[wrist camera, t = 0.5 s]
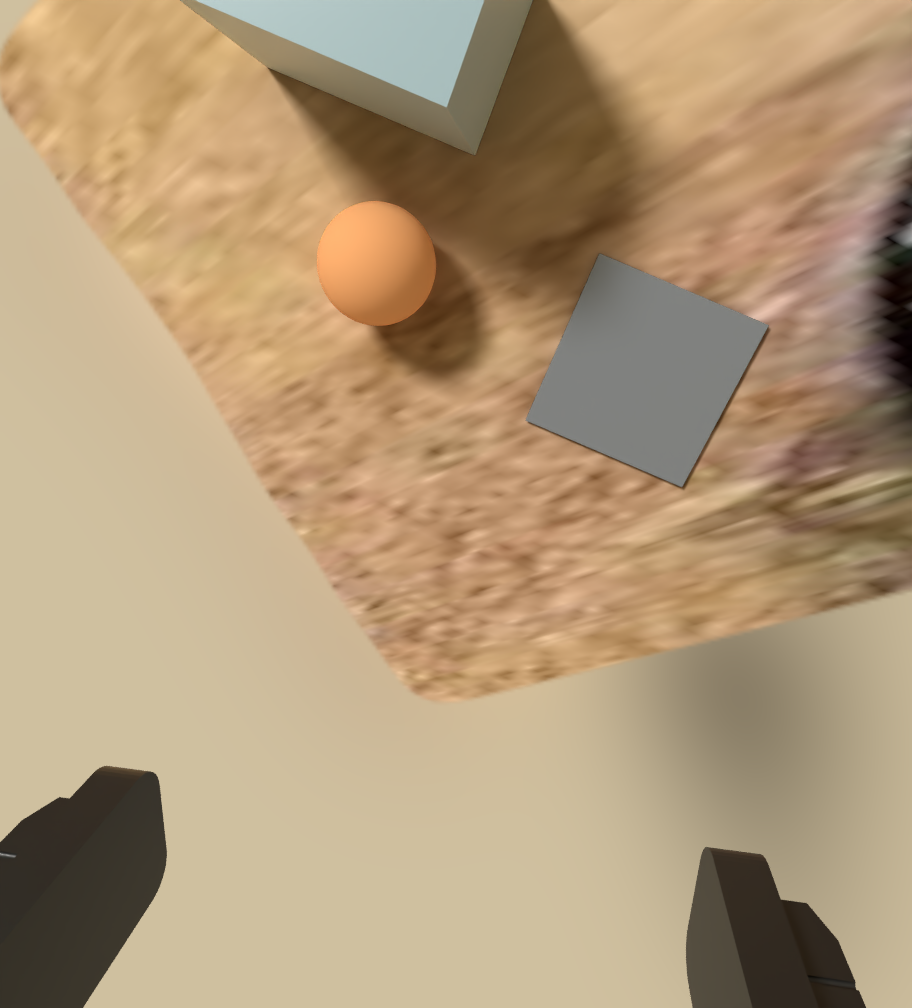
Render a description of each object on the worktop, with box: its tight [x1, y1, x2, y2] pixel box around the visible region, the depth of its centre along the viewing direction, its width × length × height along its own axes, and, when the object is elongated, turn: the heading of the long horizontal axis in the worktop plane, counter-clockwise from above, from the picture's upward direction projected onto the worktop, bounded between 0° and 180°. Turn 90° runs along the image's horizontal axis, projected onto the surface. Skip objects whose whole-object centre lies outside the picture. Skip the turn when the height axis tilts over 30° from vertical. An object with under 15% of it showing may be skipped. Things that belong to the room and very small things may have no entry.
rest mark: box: [526, 253, 769, 487], centre depth 33 cm, size 8×8×1 cm
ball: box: [317, 201, 436, 326], centre depth 30 cm, size 5×5×5 cm
